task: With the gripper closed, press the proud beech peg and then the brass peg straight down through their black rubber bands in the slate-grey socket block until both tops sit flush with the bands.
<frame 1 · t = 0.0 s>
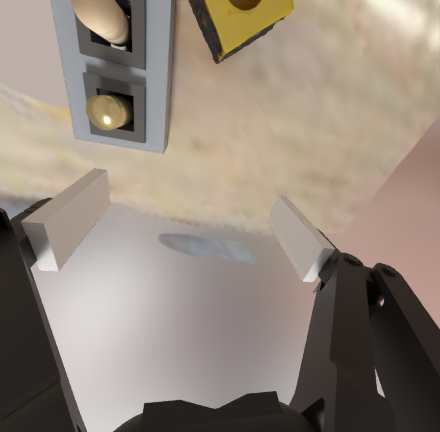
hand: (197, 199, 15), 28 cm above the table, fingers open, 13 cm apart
beech peg: (106, 17, 22), point 9 cm above the table, slide at 5.0 cm
socket block: (128, 75, 32), on the table
brass peg: (113, 111, 27), point 9 cm above the table, slide at 5.0 cm
candle: (228, 12, 30), on the table
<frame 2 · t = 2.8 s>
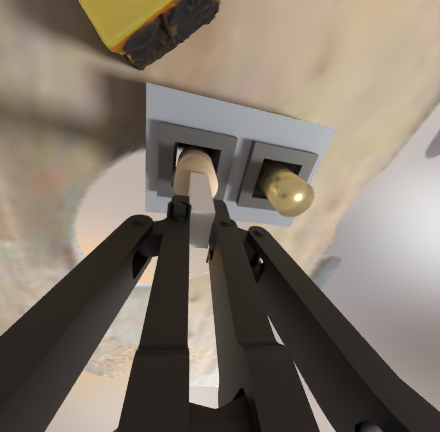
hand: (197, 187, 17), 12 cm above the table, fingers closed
beech peg: (195, 172, 20), point 8 cm above the table, slide at 4.9 cm, touching gripper
socket block: (227, 158, 28), on the table
brass peg: (280, 186, 22), point 9 cm above the table, slide at 5.0 cm
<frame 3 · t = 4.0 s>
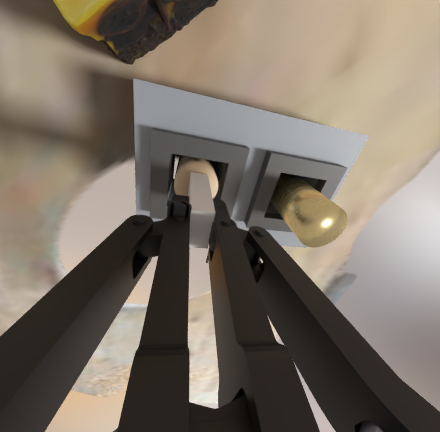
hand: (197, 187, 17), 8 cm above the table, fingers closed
beech peg: (195, 172, 20), point 4 cm above the table, slide at 0.1 cm, touching gripper
socket block: (234, 169, 24), on the table
brass peg: (300, 206, 18), point 9 cm above the table, slide at 5.0 cm
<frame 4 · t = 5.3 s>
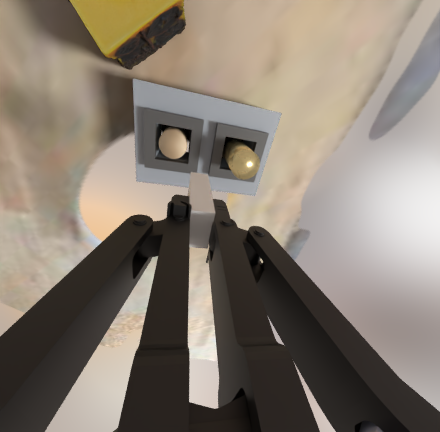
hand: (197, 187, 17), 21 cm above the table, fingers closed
beech peg: (174, 140, 31), point 4 cm above the table, slide at 0.1 cm
socket block: (203, 140, 35), on the table
brass peg: (239, 158, 29), point 9 cm above the table, slide at 5.0 cm
candle: (133, 6, 25), on the table
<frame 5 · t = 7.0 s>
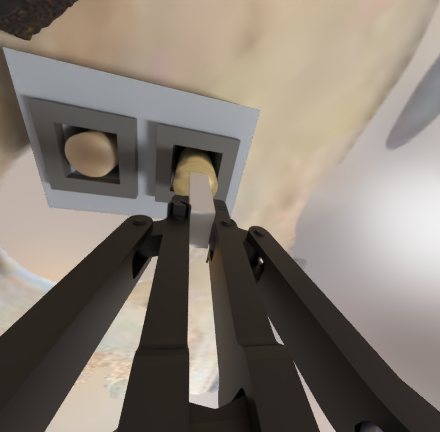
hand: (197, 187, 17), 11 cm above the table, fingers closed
beech peg: (104, 148, 21), point 4 cm above the table, slide at 0.1 cm
socket block: (156, 148, 25), on the table
brass peg: (195, 172, 20), point 7 cm above the table, slide at 3.5 cm, touching gripper
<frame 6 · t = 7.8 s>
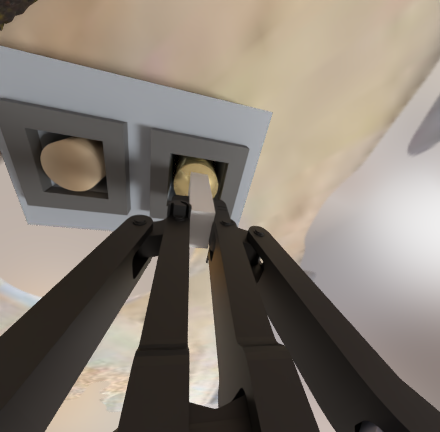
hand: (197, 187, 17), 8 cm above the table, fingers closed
beech peg: (91, 156, 18), point 4 cm above the table, slide at 0.1 cm
socket block: (152, 155, 22), on the table
brass peg: (195, 172, 20), point 4 cm above the table, slide at 0.2 cm, touching gripper
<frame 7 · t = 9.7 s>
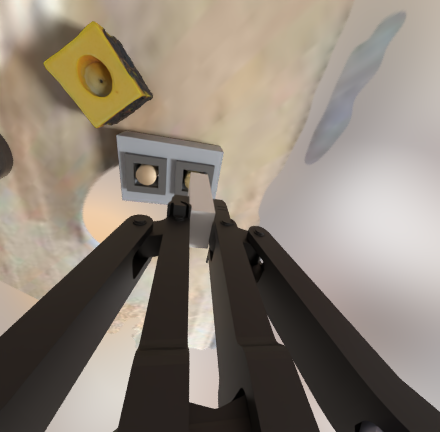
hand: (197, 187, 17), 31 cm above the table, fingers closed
beech peg: (149, 170, 42), point 4 cm above the table, slide at 0.1 cm
socket block: (173, 168, 46), on the table
brass peg: (193, 176, 44), point 4 cm above the table, slide at 0.1 cm
candle: (118, 85, 37), on the table
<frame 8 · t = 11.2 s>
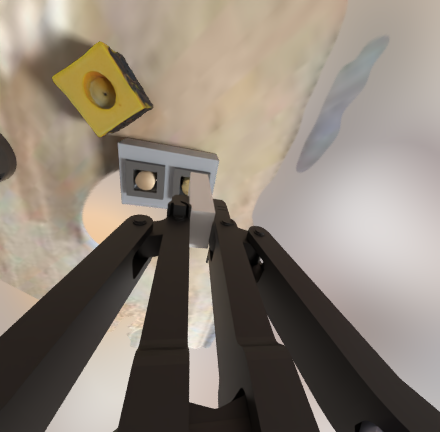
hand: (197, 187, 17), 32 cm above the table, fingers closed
beech peg: (148, 176, 45), point 4 cm above the table, slide at 0.1 cm
socket block: (171, 174, 49), on the table
brass peg: (190, 182, 47), point 4 cm above the table, slide at 0.1 cm
candle: (120, 95, 39), on the table
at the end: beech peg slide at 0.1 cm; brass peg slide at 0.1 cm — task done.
